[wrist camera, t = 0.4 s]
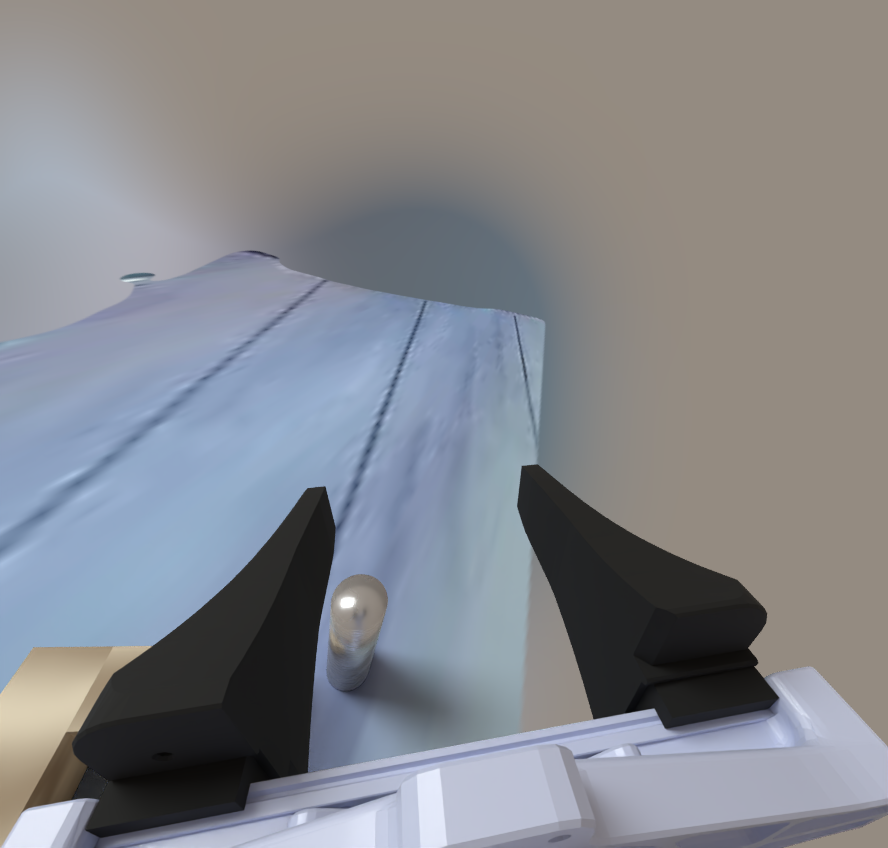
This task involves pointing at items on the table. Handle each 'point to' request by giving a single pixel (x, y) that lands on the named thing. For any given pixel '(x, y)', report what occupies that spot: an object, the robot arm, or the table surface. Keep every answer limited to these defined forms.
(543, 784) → the robot arm
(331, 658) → the peg
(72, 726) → the knuckle block
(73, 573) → the table surface
